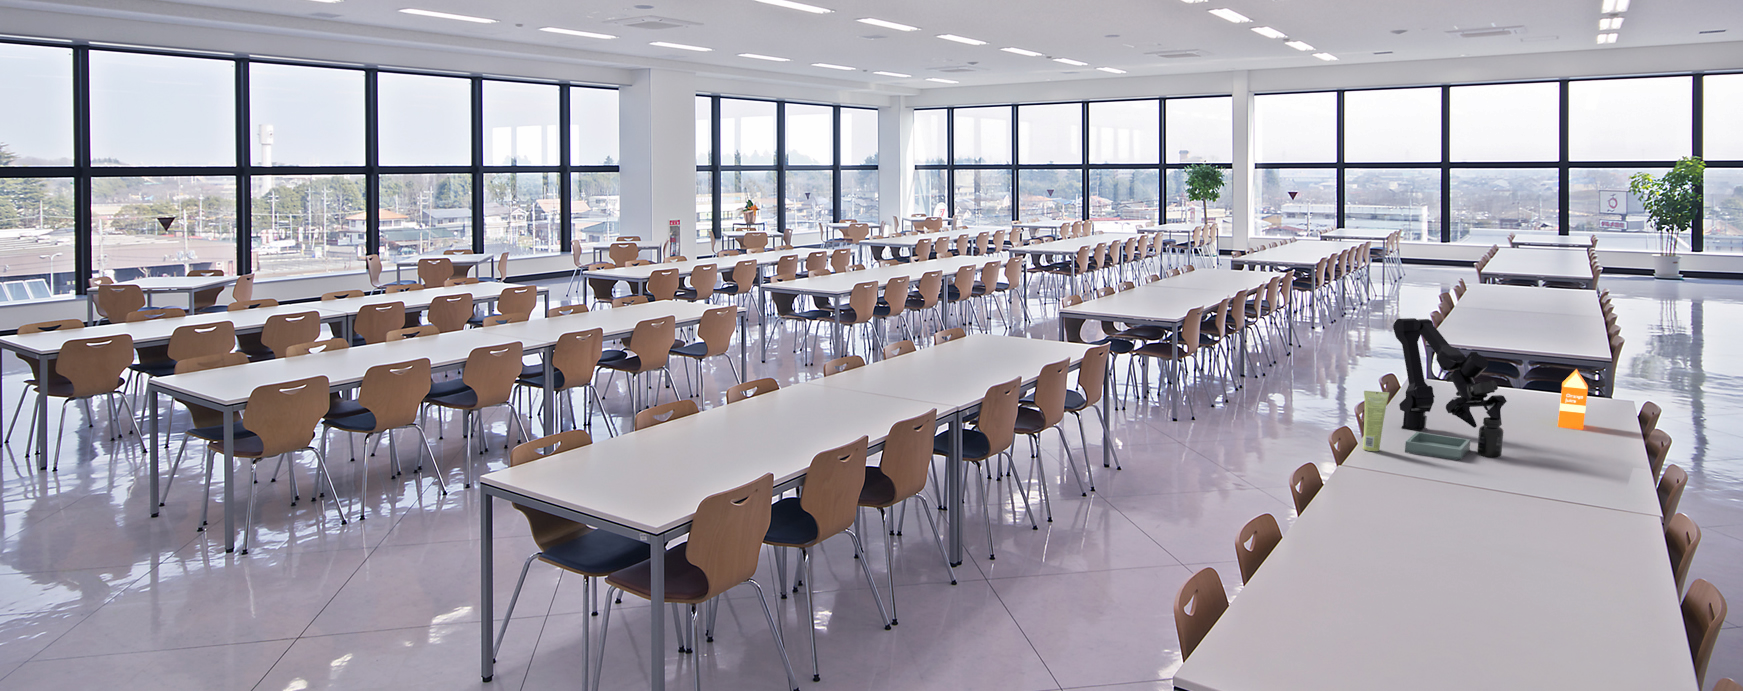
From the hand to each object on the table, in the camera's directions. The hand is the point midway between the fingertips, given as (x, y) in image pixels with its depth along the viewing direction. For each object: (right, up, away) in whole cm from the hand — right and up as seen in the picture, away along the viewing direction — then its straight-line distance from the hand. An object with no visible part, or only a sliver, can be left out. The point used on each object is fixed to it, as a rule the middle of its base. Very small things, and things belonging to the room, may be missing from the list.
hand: (1487, 426), depth 346 cm
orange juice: (+51, -3, +38) cm, 64 cm away
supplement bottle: (0, -9, 0) cm, 9 cm away
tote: (-14, -8, +5) cm, 17 cm away
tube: (-35, -8, +6) cm, 36 cm away
